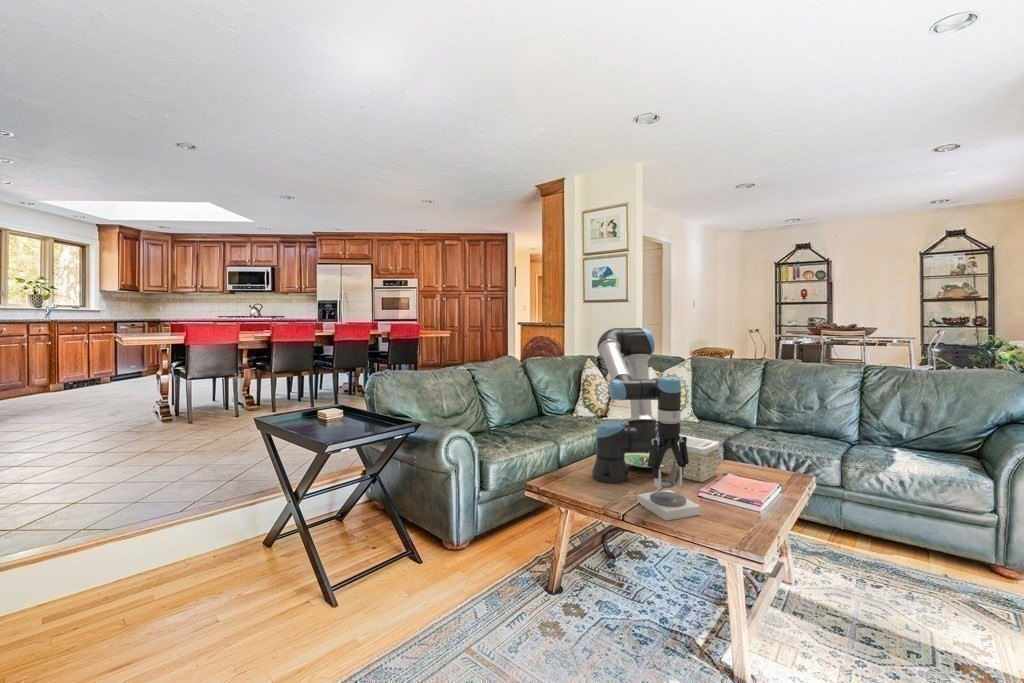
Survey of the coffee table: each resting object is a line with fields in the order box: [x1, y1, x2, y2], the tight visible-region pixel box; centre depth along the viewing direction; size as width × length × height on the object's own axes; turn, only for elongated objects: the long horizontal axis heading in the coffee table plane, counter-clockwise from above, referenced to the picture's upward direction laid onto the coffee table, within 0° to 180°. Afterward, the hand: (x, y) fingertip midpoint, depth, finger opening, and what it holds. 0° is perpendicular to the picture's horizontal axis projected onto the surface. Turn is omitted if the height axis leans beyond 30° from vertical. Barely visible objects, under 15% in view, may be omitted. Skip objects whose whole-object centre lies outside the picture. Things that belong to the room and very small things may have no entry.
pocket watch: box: [661, 460, 679, 489], centre depth 163 cm, size 8×8×10 cm
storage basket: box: [660, 434, 720, 483], centre depth 201 cm, size 24×16×15 cm
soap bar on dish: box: [637, 489, 701, 521], centre depth 163 cm, size 16×14×4 cm
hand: (668, 485), depth 163 cm, fingers closed on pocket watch, 8 cm apart
